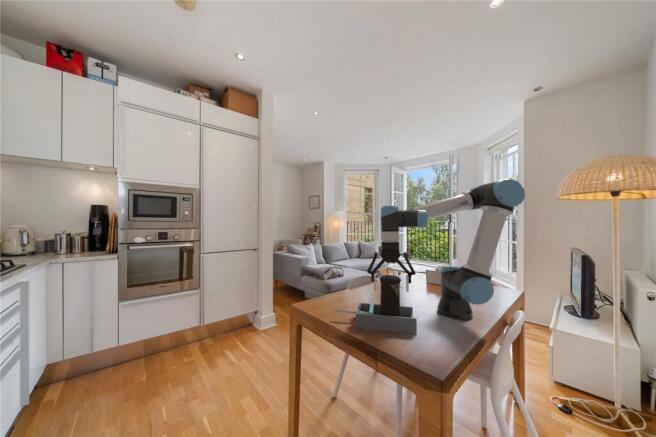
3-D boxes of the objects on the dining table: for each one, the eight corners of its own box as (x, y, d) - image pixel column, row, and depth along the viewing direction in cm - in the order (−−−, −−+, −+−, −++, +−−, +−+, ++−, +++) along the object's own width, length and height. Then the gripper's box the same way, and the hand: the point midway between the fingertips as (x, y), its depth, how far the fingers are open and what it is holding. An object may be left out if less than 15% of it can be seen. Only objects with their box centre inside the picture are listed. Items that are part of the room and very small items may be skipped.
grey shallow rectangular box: (412, 320, 108) (412, 306, 108) (416, 334, 94) (416, 319, 94) (359, 315, 113) (359, 302, 113) (355, 328, 99) (355, 313, 99)
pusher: (373, 314, 110) (373, 303, 110) (372, 324, 99) (372, 312, 99) (338, 311, 114) (338, 301, 114) (333, 321, 103) (334, 309, 103)
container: (401, 327, 98) (401, 279, 97) (379, 325, 100) (379, 278, 99) (399, 318, 106) (400, 274, 106) (379, 316, 108) (379, 272, 108)
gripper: (419, 240, 104) (420, 289, 104) (362, 240, 110) (362, 286, 110) (421, 242, 97) (423, 294, 97) (360, 241, 103) (361, 291, 102)
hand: (391, 290), depth 103 cm, fingers open, 13 cm apart
